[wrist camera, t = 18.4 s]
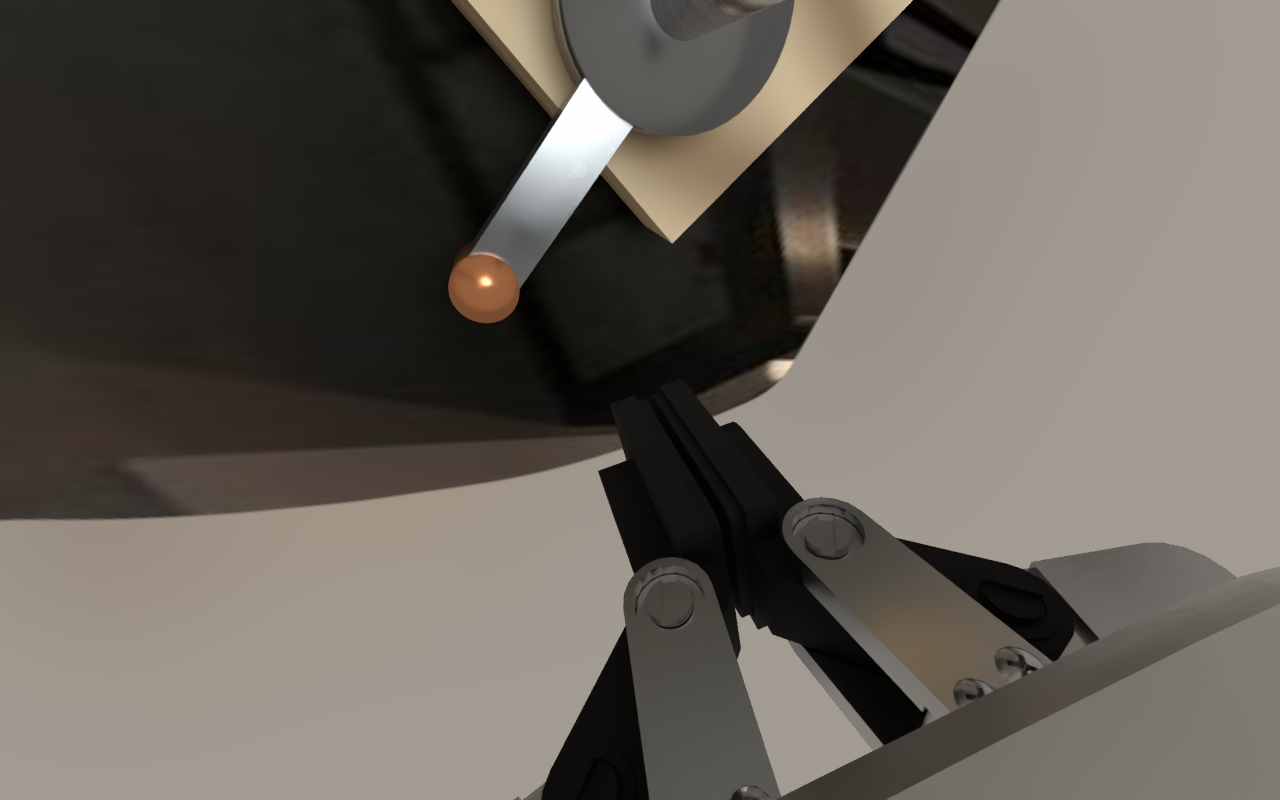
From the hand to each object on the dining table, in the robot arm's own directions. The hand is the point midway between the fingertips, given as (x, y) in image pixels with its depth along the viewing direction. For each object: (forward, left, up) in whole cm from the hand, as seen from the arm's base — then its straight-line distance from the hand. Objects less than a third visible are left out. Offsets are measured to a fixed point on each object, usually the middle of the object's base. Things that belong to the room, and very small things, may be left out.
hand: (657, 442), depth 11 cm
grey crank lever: (+5, +4, -13) cm, 15 cm away
